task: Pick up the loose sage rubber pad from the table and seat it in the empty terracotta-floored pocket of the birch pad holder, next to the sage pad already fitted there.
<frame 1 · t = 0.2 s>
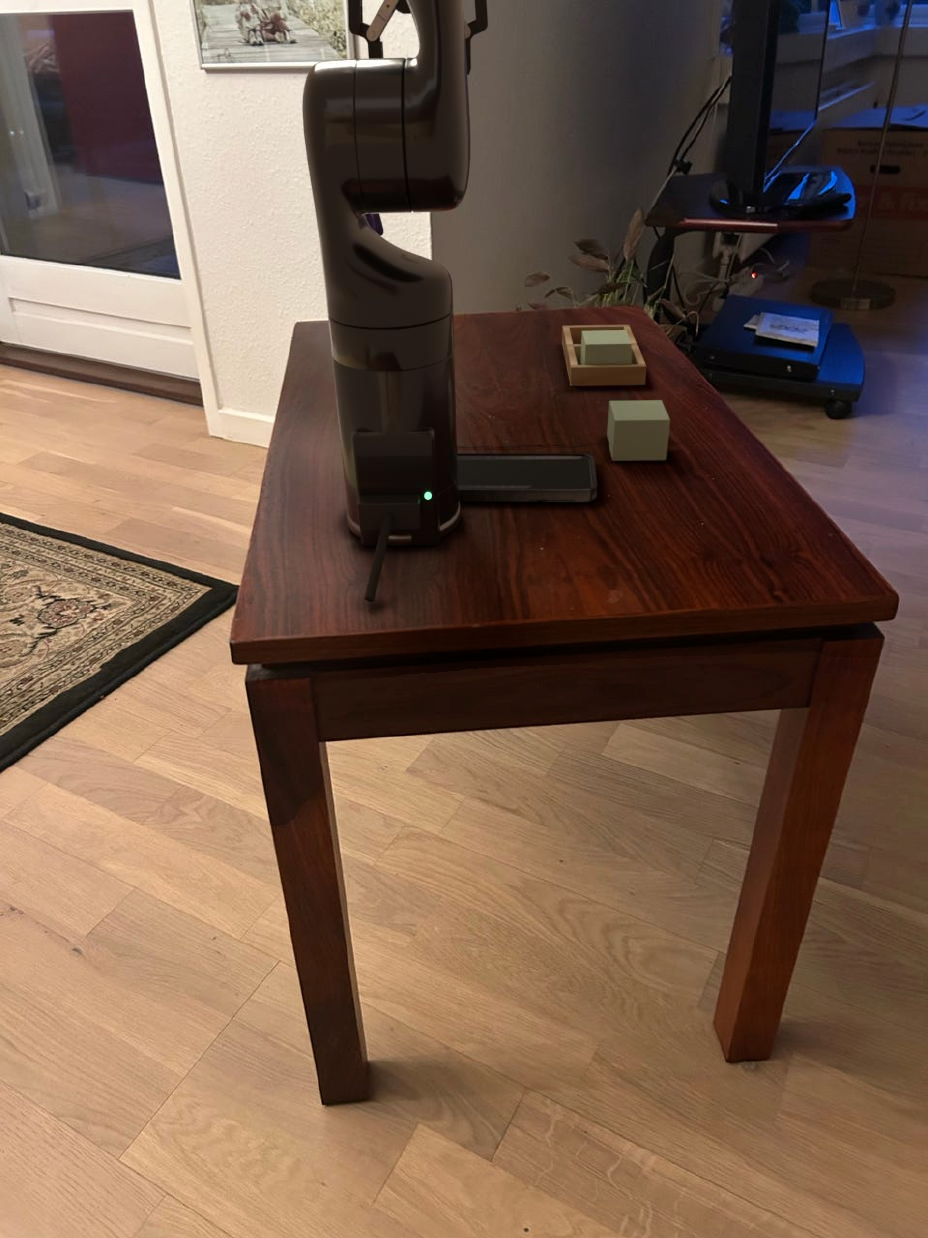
hand: (421, 81, 100), 29 cm above the table, tool pointing down, fingers open, 8 cm apart
phone: (510, 484, 85), on the table, touching arm
loose pad: (635, 449, 90), on the table
pad holder: (600, 366, 110), on the table
toy lamp: (372, 340, 121), on the table
fitted pad: (604, 372, 107), point 1 cm above the table, touching pad holder
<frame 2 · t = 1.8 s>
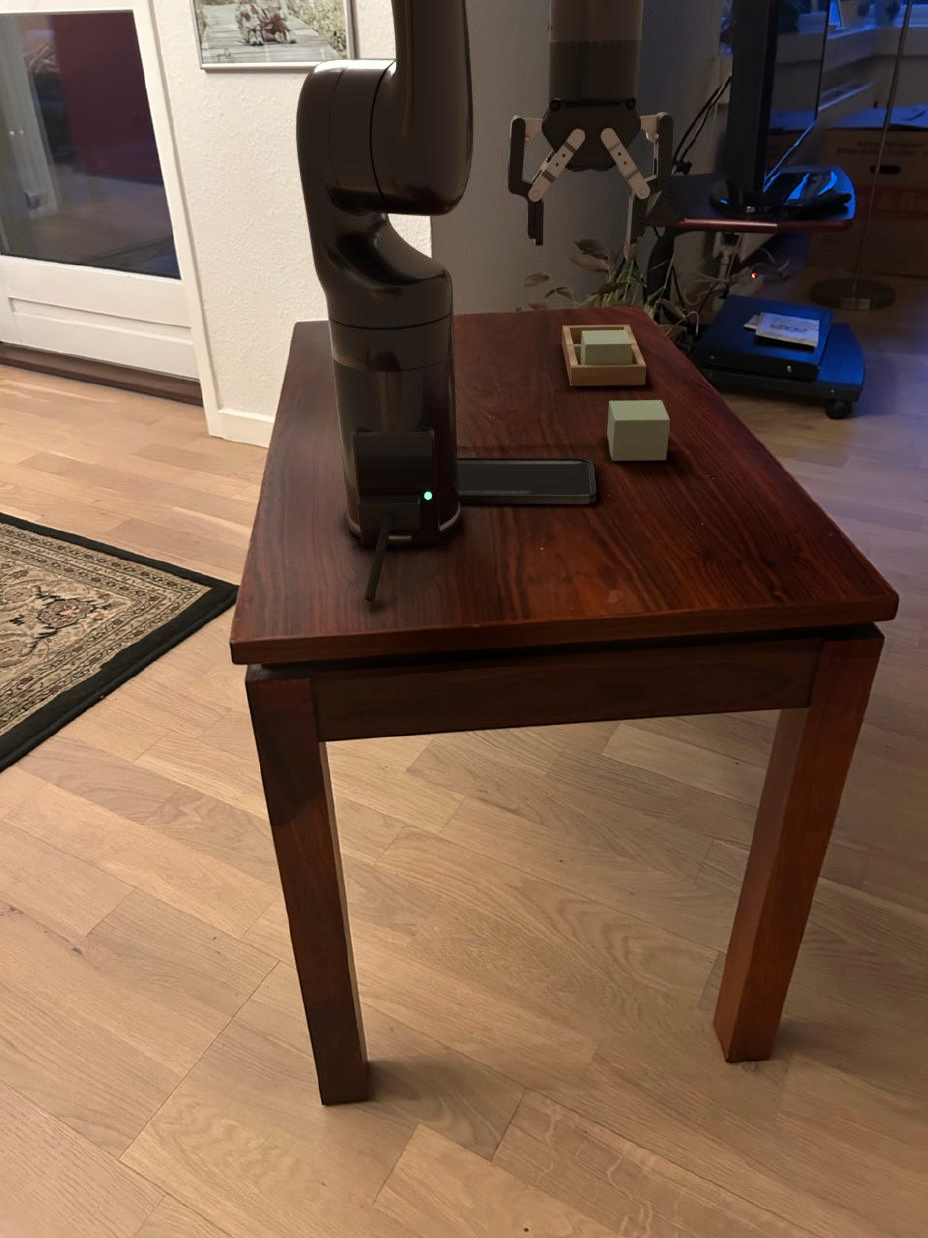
hand: (585, 243, 86), 17 cm above the table, tool pointing down, fingers open, 8 cm apart
phone: (509, 489, 85), on the table
everything else where it was.
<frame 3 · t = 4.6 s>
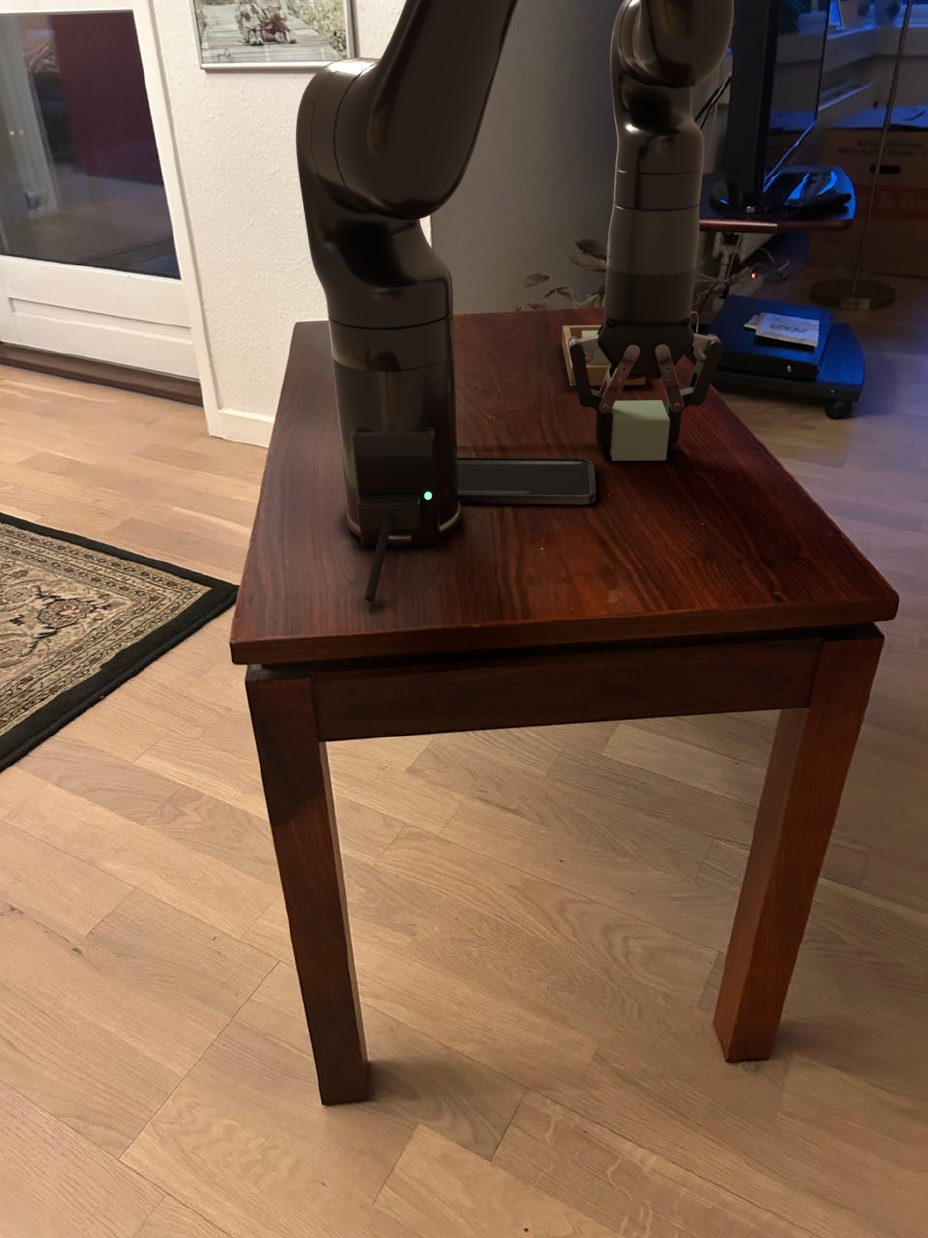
hand: (636, 445, 90), 0 cm above the table, tool pointing down, fingers closed on loose pad, 5 cm apart
loose pad: (635, 450, 90), on the table, touching gripper
everything else where it was.
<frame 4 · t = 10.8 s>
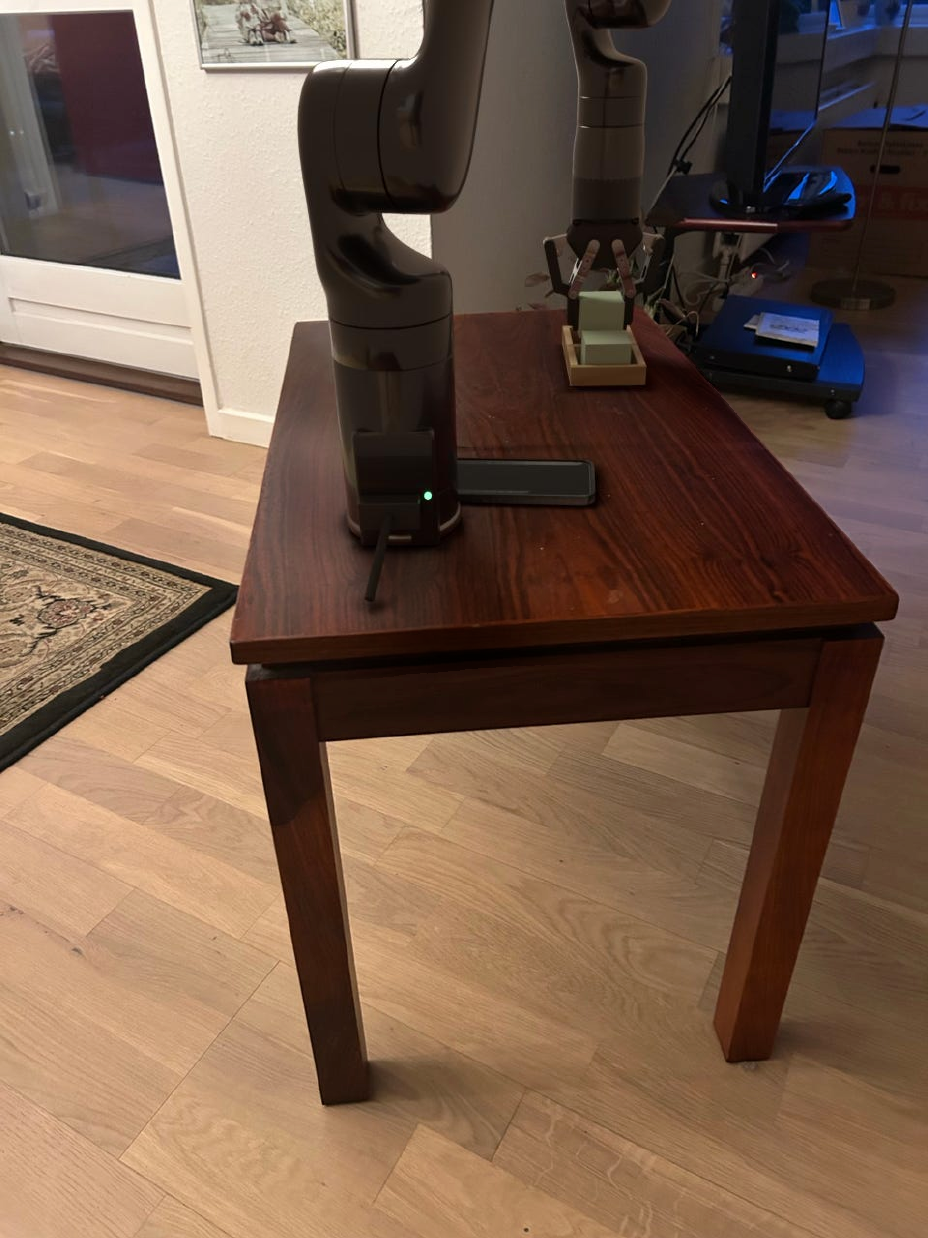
hand: (599, 327, 111), 3 cm above the table, tool pointing down, fingers closed on loose pad, 5 cm apart
loose pad: (598, 331, 111), point 3 cm above the table, touching gripper
everything else where it was.
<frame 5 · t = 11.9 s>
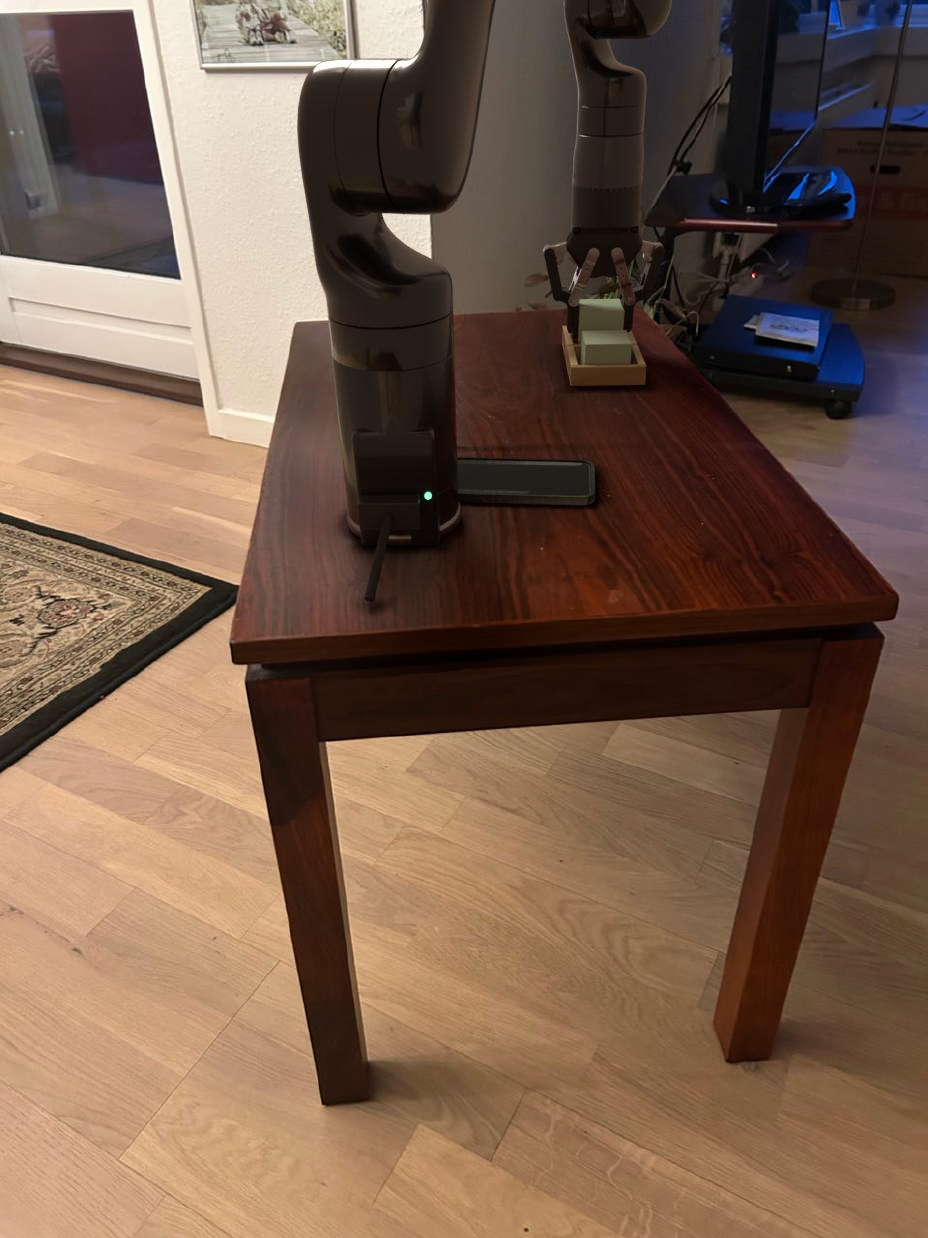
hand: (598, 335, 112), 3 cm above the table, tool pointing down, fingers closed on loose pad, 5 cm apart
loose pad: (598, 338, 112), point 2 cm above the table, touching gripper
everything else where it was.
when the fingers open (3 cm above the table, at t = 17.0 s): loose pad drops 2 cm, resting on pad holder.
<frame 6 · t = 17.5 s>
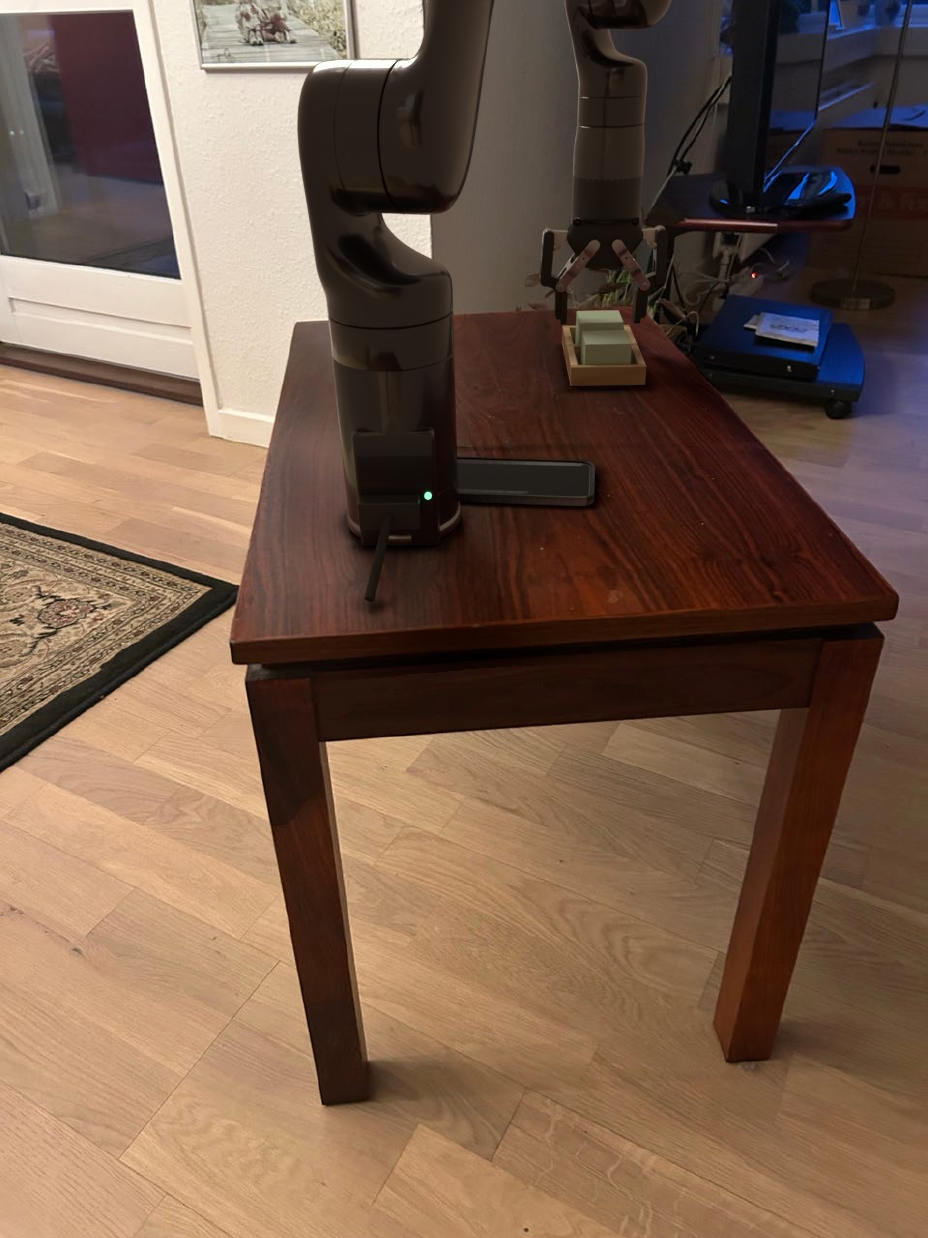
hand: (599, 322, 111), 4 cm above the table, tool pointing down, fingers open, 8 cm apart
loose pad: (597, 350, 113), point 1 cm above the table, touching pad holder
everything else where it was.
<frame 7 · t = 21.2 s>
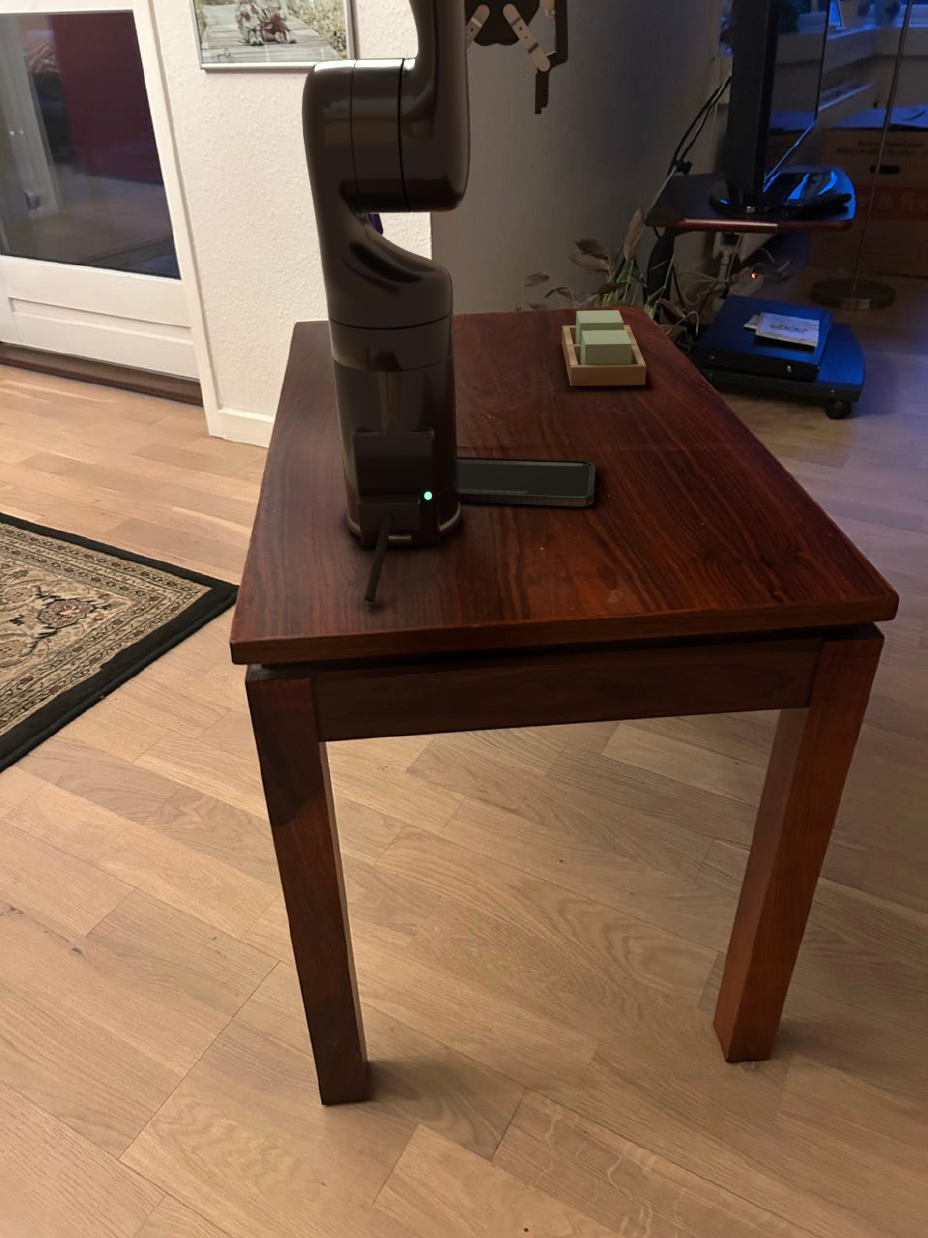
hand: (496, 114, 98), 26 cm above the table, tool pointing down, fingers open, 8 cm apart
nothing on the table moved.
at the end: loose pad 0.0 cm from the target spot in the pad holder, point 0.8 cm above the pad holder's base; loose pad tilted 0° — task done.
